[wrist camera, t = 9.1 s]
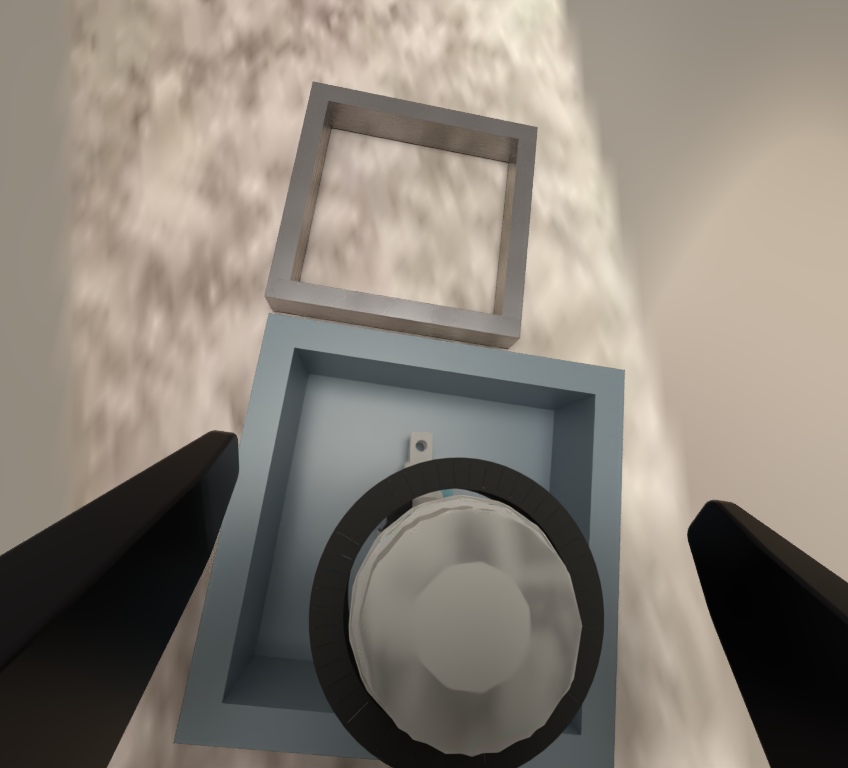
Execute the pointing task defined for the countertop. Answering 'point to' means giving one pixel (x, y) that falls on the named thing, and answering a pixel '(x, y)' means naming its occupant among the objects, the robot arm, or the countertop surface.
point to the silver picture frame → (423, 129)
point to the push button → (456, 616)
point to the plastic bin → (349, 480)
